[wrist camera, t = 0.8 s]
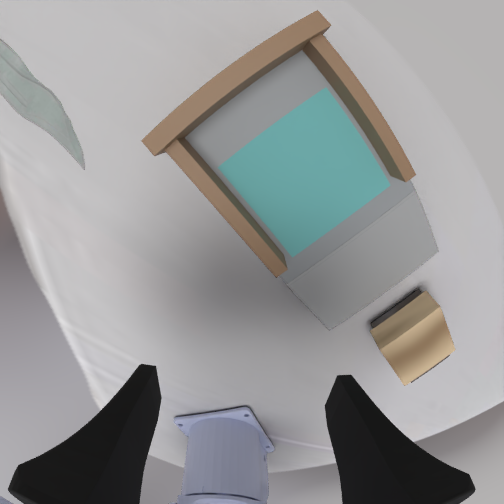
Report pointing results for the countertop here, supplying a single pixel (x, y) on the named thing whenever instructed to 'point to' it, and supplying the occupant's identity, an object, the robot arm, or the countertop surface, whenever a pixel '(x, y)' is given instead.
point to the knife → (36, 101)
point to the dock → (262, 117)
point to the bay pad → (306, 172)
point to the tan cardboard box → (413, 336)
